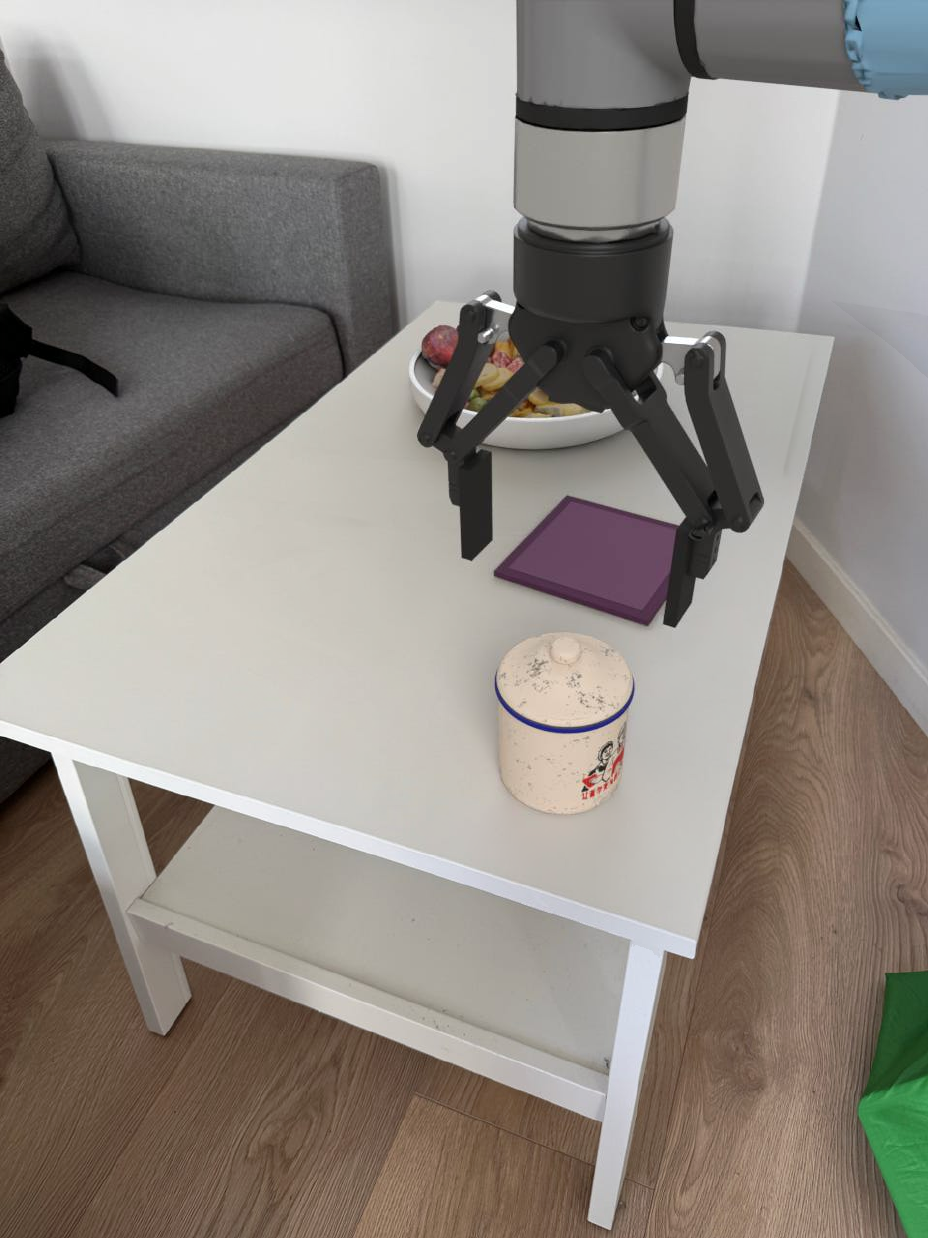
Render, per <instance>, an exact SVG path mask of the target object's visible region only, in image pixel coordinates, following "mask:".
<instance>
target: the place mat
mask: <svg viewBox="0 0 928 1238" xmlns="http://www.w3.org/2000/svg"><path fill="white" fill-rule="evenodd" d="M679 525H680V524H675V523H671V522H668V521H663V520H660V519H658V518H653V517H648V516H645V515H641V514H638V513H634V512H631V511H628V510H625V509H624V510H623V509H619V508H616V507H612V506H608V505H605V504H601V503H597V502H594V501H590V500H586V499H582V498H579V497H575V496H571V495H568V494H567V495H566V496H565V497H563V499H562V500H561V501H560V502H559V503H558V504H557V505H556V506H554V508H553V509H552V510H551V511H550V512H549V513H548V514H547V515H546V516H545V517H544V518H543V519H542V520H541V521H540V522H539V524H538V525H536V526H535V528H534V529H533V530H532V531H531V532H530V533H529V534H527V536H526V537H525V538H524V539H523V540H522V541H521V542H520V543H519V544H518V545H517V546H516V547H515V548H514V549H513V551H511V553H510V554H509V555H507V557H505V559H504V560H503V561H502V562H501V563H500V564H499V565H498V566H497V567H496V568H495V569H494V570H493V577H495V578H499V579H502V580H505V581H507V582H511V583H514V584H517V585H520V586H523V587H526V588H530V589H533V590H535V591H539V592H542V593H545V594H547V595H551V596H554V597H557V598H560V599H564V600H566V601H570V602H573V603H575V604H578V605H582V606H585V607H588V608H591V609H594V610H597V611H600V612H603V613H605V614H609V615H613V616H616V617H618V618H620V619H621V618H623V619H625V620H628V621H631V622H634V623H637V624H640V625H644V626H646V627H648V626H649V625H650V624H651V623H652V621H653V620H654V618H655V617H656V616H657V614H658V613H659V611H660V609H661V608H662V607H663V605H665V603H666V598H667V591H668V584H669V577H670V570H671V562H672V555H673V548H674V541H675V534H676V529H677V528H678V527H679Z"/></svg>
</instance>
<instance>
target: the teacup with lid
mask: <svg viewBox="0 0 928 1238" xmlns="http://www.w3.org/2000/svg"><path fill="white" fill-rule="evenodd" d="M635 684H636V683H635V679H634V675H633V672H632V669H631V668H630V665H629V664H628V662H627V660H626V659H625V658H624V657H623V655H622V654H621V653H620V652H619V651H618V650H616V649H615V648H614V647H613V646H611V645H610V644H608V643H606V642H605V641H602V640H600V639H598V638H596V637H593V636H589V635H587V634H583V633H577V632H569V631H568V632H566V631H557V632H555V631H554V632H546V633H542V634H537V635H534V636H531V637H529V638H527V639H524V640H523V641H521V642H519V643H518V644H516V645H515V646H513V647H512V648H510V650H508V652H506V654H505V655H504V656H503V658H502V659H501V660H500V662H499V665H498V667H497V668H496V671H495V675H494V690H495V691H494V692H495V694H496V698H497V699H498V700H497V701H498V703H497V704H498V756H499V757H498V763H499V765H498V766H499V773H500V776H501V780H502V781H503V784H504V785H505V787H506V789H507V790H508V792H509V793H510V794H511V795H512V796H513V797H514V798H515V799H517V800H518V801H519V802H521V803H522V804H524V805H525V806H527V807H529V808H531V809H533V810H536V811H539V812H542V813H547V814H552V815H574V814H580V813H584V812H588V811H590V810H592V809H593V810H594V809H596V808H597V807H599V806H601V805H602V804H604V803H606V801H608V800H609V799H610V798H611V796H613V794H614V793H615V791H616V790H617V788H618V787H619V785H620V782H621V779H622V773H623V765H624V756H625V748H626V747H625V746H626V737H627V728H628V718H629V711H630V710H629V709H630V706H631V704H632V702H633V699H634V695H635V690H636V688H635V687H636V685H635Z"/></svg>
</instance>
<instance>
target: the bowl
mask: <svg viewBox="0 0 928 1238" xmlns="http://www.w3.org/2000/svg"><path fill="white" fill-rule="evenodd" d="M458 333H459V324H458V325H457V326H456V328H455V327H454V326H451V325H447V324H439V325H437V326H435V327H433V329H431V330H430V331H428V332H427V333H426V334H425V336H424V337H423V338H422V340H421V345H420V346H421V347H419V348H418V350H416V351H415V353H414V354H413V355H412V356H411V358H410V361H409V363H408V366H407V376H408V383H409V389H410V392H411V395H412V397H413V399H414V401H415V402H416V405H417V406H418V407H419V408H420V410H421V411H422V413H423V414H425V415H426V412H427V410H428V408H429V406H430V403H431V401H432V399H433V397H434V394H435V392H436V390H437V388H438V386H439V383H440V381H441V379H442V377H443V374H444V372H445V370H446V368H447V366H448V363H449V361H450V359H451V357H452V354H453V352H454V350H455V348H456V345H457V343H458ZM523 364H524V361H523V360H522V358H521V356H520V354H519V353H518V351H517V349H516V347H515V346H514V344H513V342H512V340H511V339H510V336H509V333H508V331H506V333H505V335H504V336H503V337H502V338H501V339H499V340H498V341H497V342H496V343H495V345H494V348H493V350H492V352H491V354H490V356H489V358H488V360H487V362H486V364H485V366H484V368H483V370H482V372H481V374H480V376H479V378H478V380H477V382H476V384H475V386H474V388H473V390H472V393H471V395H470V397H469V399H468V401H467V403H466V405H465V407H464V409H463V411H462V413H461V415H460V417H459V419H458V421H457V423H456V425H457V426H459V427H460V428H462V429H463V428H464V427H465V426H466V425H467V424H468V423H469V421H470V420H471V419H472V418H473V417H474V416H475V415H476V414H477V413H478V412H479V411H480V410H481V409H482V408H483V407H484V406H485V405H486V404H487V403H488V402H489V401H490V400H491V399H492V398H493V397H494V396H495V395H496V394H497V393H498V391H499V390H500V389H501V388H502V386H503V385H504V384H505V383H506V382H507V381H508V380H509V379H510V378H511V377H512V376H513V375H514V374H515V373H516V372H517V371H518V370H519V369H520V367H521V366H522V365H523ZM654 373H655V374H656V376H657V378H658V379H659V381H660V382H661V384H662V385H663V382H664V374H665V363H663V362H662V363H661V364H660V365H659V366H658V367H657V368H656V369H655V370H654ZM632 395H633V396H634V398H635V399H636V401H638V399H639V397H638V394H637V392H636V391H635V390H634V391H633V392H632ZM548 400H549V396H547V395H546V394H544V393H543V392H542V391H541V390H540V389H539V387H537V388H536V389H535V390H534V391H533V392H532V393H531V394H530V395H529V396H528V397H527V398H526V399H525V400H524V401H523V402H522V403H521V404H520V405H519V406H518V407H517V408H516V409H515V410H514V411H513V412H512V413H511V414H510V415H509V416H508V417H507V418H506V419H505V420H504V421H503V422H502V423H501V424H500V425H499V426H498V427H497V428H496V429H495V430H494V431H493V432H492V433H491V434H490V435H489V436H488V437H487V438H486V439H485V441H483V442H482V443H481V444H482V445H488V446H493V447H499V448H507V449H518V450H548V449H549V450H551V449H560V448H569V447H575V446H580V445H585V444H588V443H593V442H596V441H599V440H602V439H605V438H607V437H610V436H613V435H615V434H617V433H619V432H621V431H623V430H625V429H624V428H623V427H622V426H621V425H620V423H619V422H618V420H617V419H616V417H615V415H614V414H613V412H612V411H611V409H608V410H605V411H604V412H603V413H598V412H593V411H589V410H587V409H585V408H583V407H581V406H579V405H577V404H574V403H573V404H559V403H555V402H551V401H548Z"/></svg>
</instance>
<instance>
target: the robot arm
mask: <svg viewBox="0 0 928 1238" xmlns="http://www.w3.org/2000/svg"><path fill="white" fill-rule="evenodd" d="M515 12H516V17H515V18H516V19H515V21H516V23H515V24H516V27H515V28H516V31H515V32H516V91H515V94H514V95H515V115H514V146H513V147H514V148H513V194H512V197H513V198H512V199H513V201H512V203H513V208H514V210H516V211H517V212H518V213H519V214H520V215H521V216H522V217H521V218H519V220H518V222H517V223H516V224H515V226H514V228H513V247H512V248H513V249H512V250H513V253H512V254H513V258H512V259H513V260H512V261H513V263H512V265H513V266H512V267H513V268H512V272H513V273H512V275H513V276H512V287H513V288H512V290H513V295H514V298H515V299H516V301H515V306H514V305H511V304H507V303H505V302H502V298H501V295H500V294H499V293H498V292H497V291H495V290H491V289H490V290H487V291H484V292H483V293H481V294H480V295H478V296H477V297H475V298H474V299H472V300H471V301H469V302H467V303H465V304H464V305H463V306H462V307H461V308H460V311H459V321H458V325H459V333H458V343H457V345H456V348H455V350H454V352H453V354H452V357H451V359H450V361H449V363H448V366H447V368H446V370H445V372H444V374H443V377H442V379H441V381H440V383H439V386H438V388H437V390H436V392H435V394H434V397H433V399H432V401H431V403H430V406H429V408H428V410H427V412H426V414H425V415H424V417H423V418H422V421H421V424H420V425H419V428H418V430H417V433H416V440H417V441H418V443H419V444H420V445H421V446H422V447H424V448H426V449H427V448H431V447H433V448H435V449H436V450H438V451H439V452H441V453H442V456H443V458H444V460H445V461H446V462H447V478H448V479H447V481H448V498H449V500H450V502H451V505H453V506H457V507H459V524H460V525H459V527H460V552H461V553H460V554H461V556H460V558H461V559H463V560H467V561H470V562H473V560H475V558H477V557H478V555H480V554H481V553H482V552H483V551H484V550H485V549H486V548H487V547H488V546H489V544H491V543H492V542H493V541H494V533H493V532H494V530H493V528H494V527H493V526H494V525H493V524H494V521H493V520H494V519H493V517H494V516H493V515H494V513H493V451H491V450H488V449H484V448H481V449H479V450H478V451H477V448H478V447H479V446H480V445H481V444H483V443H482V442H483V441H485V439H486V438H487V437H488V436H489V435H490V434H491V433H492V432H493V431H494V430H495V429H496V428H497V427H498V426H499V425H500V424H501V423H502V422H503V421H504V420H505V419H506V418H507V417H508V416H509V415H510V414H511V413H512V412H513V411H514V410H515V409H516V408H517V407H518V406H519V405H520V404H521V403H522V402H523V401H524V400H525V399H526V398H527V397H528V396H529V395H530V394H531V393H532V392H533V391H534V390H535V389H536V388H537V387H539V389H540V390H541V391H542V392H543V393H544V394H546V395H547V396H549V400H548V401H551V402H555V403H559V404H573V403H574V404H577V405H579V406H581V407H583V408H585V409H587V410H589V411H593V412H598V413H603V412H604V411H605V410H608V409H611V411H612V412H613V414H614V415H615V417H616V419H617V420H618V422H619V423H620V425H621V426H622V427H623V428H624V429H623V430H625V431H629V432H631V434H632V435H633V436H634V438H635V440H636V442H637V443H638V445H639V446H640V448H641V449H642V450H643V452H644V454H645V455H646V457H647V458H648V460H649V462H650V463H651V465H652V466H653V468H654V469H655V471H656V472H657V474H658V476H659V477H660V479H661V480H662V482H663V483H664V485H665V486H666V488H667V490H668V491H669V493H670V494H671V496H672V498H673V499H674V501H675V502H676V504H677V505H678V507H679V508H680V510H681V512H682V513H683V515H684V516H685V517H684V518H683V520H682V521H681V522H680V524H678V525H679V527H678V528H677V529H676V534H675V541H674V548H673V555H672V562H671V570H670V577H669V584H668V591H667V598H666V601H665V604H664V605H665V606H664V612H663V618H662V619H663V621H662V625H664V626H667V627H670V628H674V629H676V628H677V626H678V625H679V623H680V622H681V621H682V619H683V617H684V615H685V614H686V613H687V611H688V609H690V606H691V605H692V603H693V598H694V592H695V586H696V580H697V579H699V580H705V579H706V577H707V576H708V574H709V573H710V572H711V570H712V569H713V567H714V566H715V564H716V563H717V561H718V556H719V550H720V545H721V539H722V533H723V530H729V529H730V530H731V531H732V532H734V533H737V534H742V533H746V532H747V531H748V530H749V529H750V527H751V526H752V524H753V523H754V522H755V520H756V519H757V517H758V515H759V514H760V512H761V510H762V509H763V507H764V505H765V497H764V495H763V492H762V489H761V488H762V487H761V486H760V482H759V479H758V476H757V473H756V470H755V467H754V463H753V460H752V458H751V457H752V456H751V454H750V451H749V448H748V445H747V441H746V438H745V435H744V433H743V429H742V427H741V422H740V420H739V418H738V414H737V410H736V407H735V404H734V400H733V398H732V395H731V392H730V389H729V385H728V382H727V379H726V358H727V357H726V356H727V355H726V354H727V339H726V338H725V336H724V334H723V333H721V332H720V331H718V330H709V331H708V332H706V333H705V334H704V335H702V337H685V336H673V335H669V333H668V331H667V330H668V329H667V328H666V324H665V318H664V317H665V315H664V313H665V306H666V301H667V296H668V295H667V294H668V285H669V276H670V268H671V267H670V266H671V260H672V259H671V257H672V250H673V249H672V248H673V242H674V233H675V232H674V228H673V226H672V225H671V223H670V221H669V219H667V216H669V215H670V214H671V213H672V212H674V211H675V209H676V206H677V201H678V200H677V199H678V191H679V190H678V189H679V182H680V174H681V165H682V154H683V147H684V140H685V131H686V123H687V113H688V105H689V94H690V86H691V80H692V78H695V79H699V80H709V81H717V80H719V79H720V80H729V81H742V82H752V83H763V84H772V85H773V84H774V85H783V86H784V85H785V86H793V87H795V86H796V87H805V88H817V89H826V90H837V91H847V92H858V93H869V94H877V96H878V98H879V99H882V100H883V99H884V100H890V101H891V100H892V101H899V100H900V99H905V98H906V97H908V96H928V0H515ZM506 331H508V333H509V336H510V339H511V340H512V342H513V344H514V346H515V347H516V349H517V351H518V353H519V354H520V356H521V358H522V360H523V361H524V364H523V365H522V366H521V367H520V369H519V370H518V371H517V372H516V373H515V374H514V375H513V376H512V377H511V378H510V379H509V380H508V381H507V382H506V383H505V384H504V385H503V386H502V388H501V389H500V390H499V391H498V393H497V394H496V395H495V396H494V397H493V398H492V399H491V400H490V401H489V402H488V403H487V404H486V405H485V406H484V407H483V408H482V409H481V410H480V411H479V412H478V413H477V414H476V415H475V416H474V417H473V418H472V419H471V420H470V421H469V423H468V424H467V425H466V426H465V427H464V428H463V429H462V428H460V427H459V426H457V425H456V423H457V421H458V419H459V417H460V415H461V413H462V411H463V409H464V407H465V405H466V403H467V401H468V399H469V397H470V395H471V393H472V390H473V388H474V386H475V384H476V382H477V380H478V378H479V376H480V374H481V372H482V370H483V368H484V366H485V364H486V362H487V360H488V358H489V356H490V354H491V352H492V350H493V348H494V345H495V343H496V342H497V341H498V340H499V339H501V338H502V337H503V336H504V335H505V333H506ZM662 362H663V363H664V364H666V365H667V366H669V367H670V368H671V370H672V372H673V376H674V382H675V383H676V385H679V386H683V392H684V393H683V394H684V399H685V404H686V407H687V410H688V414H689V416H690V419H691V422H692V426H693V428H694V431H695V434H696V437H697V440H698V443H699V446H700V449H701V452H702V456H703V457H702V456H701V454H700V453H699V451H698V449H697V448H696V446H695V444H694V443H693V441H692V439H691V438H690V437H689V435H688V433H687V432H686V430H685V429H684V426H682V423H681V422H680V421H679V419H678V418H677V416H676V414H675V412H674V411H673V409H672V408H671V406H670V404H669V403H668V394H667V391H666V389H665V387H664V385H663V383H662V384H661V382H660V381H659V379H658V378H657V376H656V374H655V373H654V370H655V369H656V368H657V367H658V366H659V365H660V364H661V363H662ZM634 390H635V391H636V392H637V394H638V397H639V399H638V401H636V399H635V398H634V396H633V395H632V392H633V391H634ZM703 458H704V459H703Z"/></svg>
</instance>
